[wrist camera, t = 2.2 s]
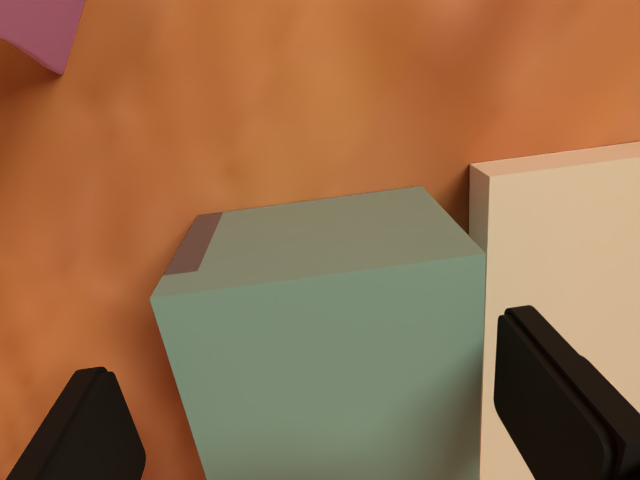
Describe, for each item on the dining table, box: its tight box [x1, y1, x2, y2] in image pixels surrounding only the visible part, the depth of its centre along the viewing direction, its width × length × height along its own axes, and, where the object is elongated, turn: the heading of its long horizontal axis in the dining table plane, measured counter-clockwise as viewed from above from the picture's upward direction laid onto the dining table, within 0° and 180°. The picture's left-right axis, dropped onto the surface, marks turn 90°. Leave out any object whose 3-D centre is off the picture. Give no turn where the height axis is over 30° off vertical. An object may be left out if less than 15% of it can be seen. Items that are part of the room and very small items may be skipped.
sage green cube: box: [149, 186, 486, 480], centre depth 13 cm, size 7×7×5 cm
